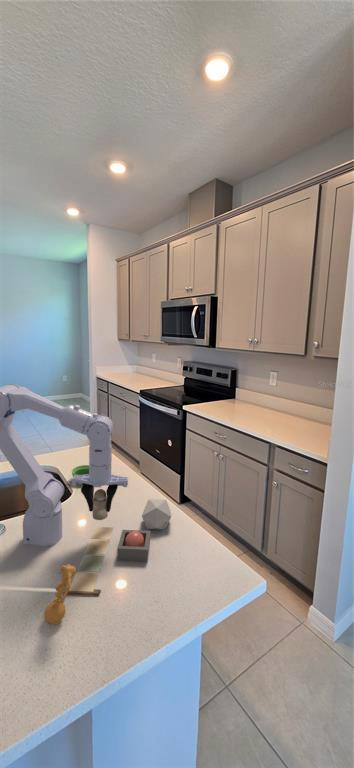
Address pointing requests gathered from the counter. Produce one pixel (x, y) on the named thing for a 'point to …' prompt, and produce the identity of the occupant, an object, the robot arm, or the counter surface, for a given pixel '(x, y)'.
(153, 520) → the die
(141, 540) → the popper dome
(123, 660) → the counter surface
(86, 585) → the board
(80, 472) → the ramekin
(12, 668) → the counter surface
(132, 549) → the frame
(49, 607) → the figurine
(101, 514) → the pawn
